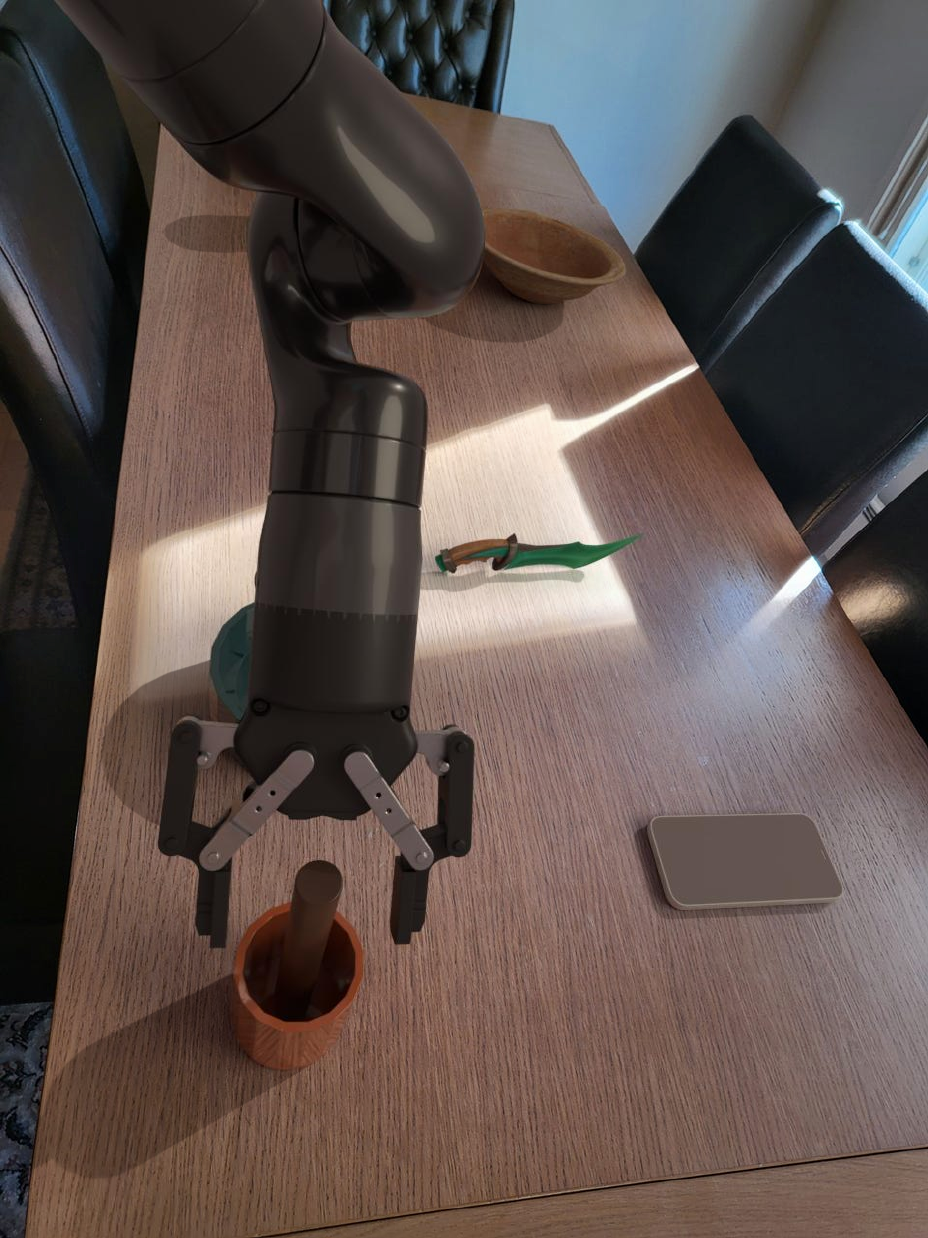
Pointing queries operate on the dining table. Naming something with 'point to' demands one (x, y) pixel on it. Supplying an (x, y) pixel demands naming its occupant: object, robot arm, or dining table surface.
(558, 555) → the knife
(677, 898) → the smartphone
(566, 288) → the bowl
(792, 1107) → the dining table surface
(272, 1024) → the utensil cup
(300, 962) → the stirring stick
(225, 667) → the mixing bowl
